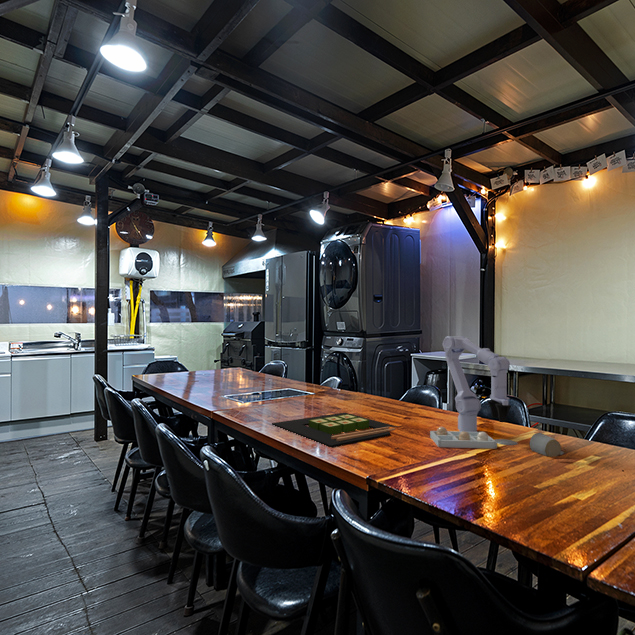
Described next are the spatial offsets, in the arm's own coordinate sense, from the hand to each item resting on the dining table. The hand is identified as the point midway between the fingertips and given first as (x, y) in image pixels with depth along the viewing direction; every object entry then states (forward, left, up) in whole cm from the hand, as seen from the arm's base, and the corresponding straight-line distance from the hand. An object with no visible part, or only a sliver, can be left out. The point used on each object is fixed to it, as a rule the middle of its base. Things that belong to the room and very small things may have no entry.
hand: (498, 419), depth 173 cm
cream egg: (+7, -9, -8) cm, 14 cm away
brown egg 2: (+8, -16, -8) cm, 20 cm away
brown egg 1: (0, -23, -8) cm, 24 cm away
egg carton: (+4, -16, -9) cm, 19 cm away
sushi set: (-19, -65, -10) cm, 69 cm away
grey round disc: (+2, +2, -9) cm, 10 cm away
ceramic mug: (+15, +12, -10) cm, 22 cm away
